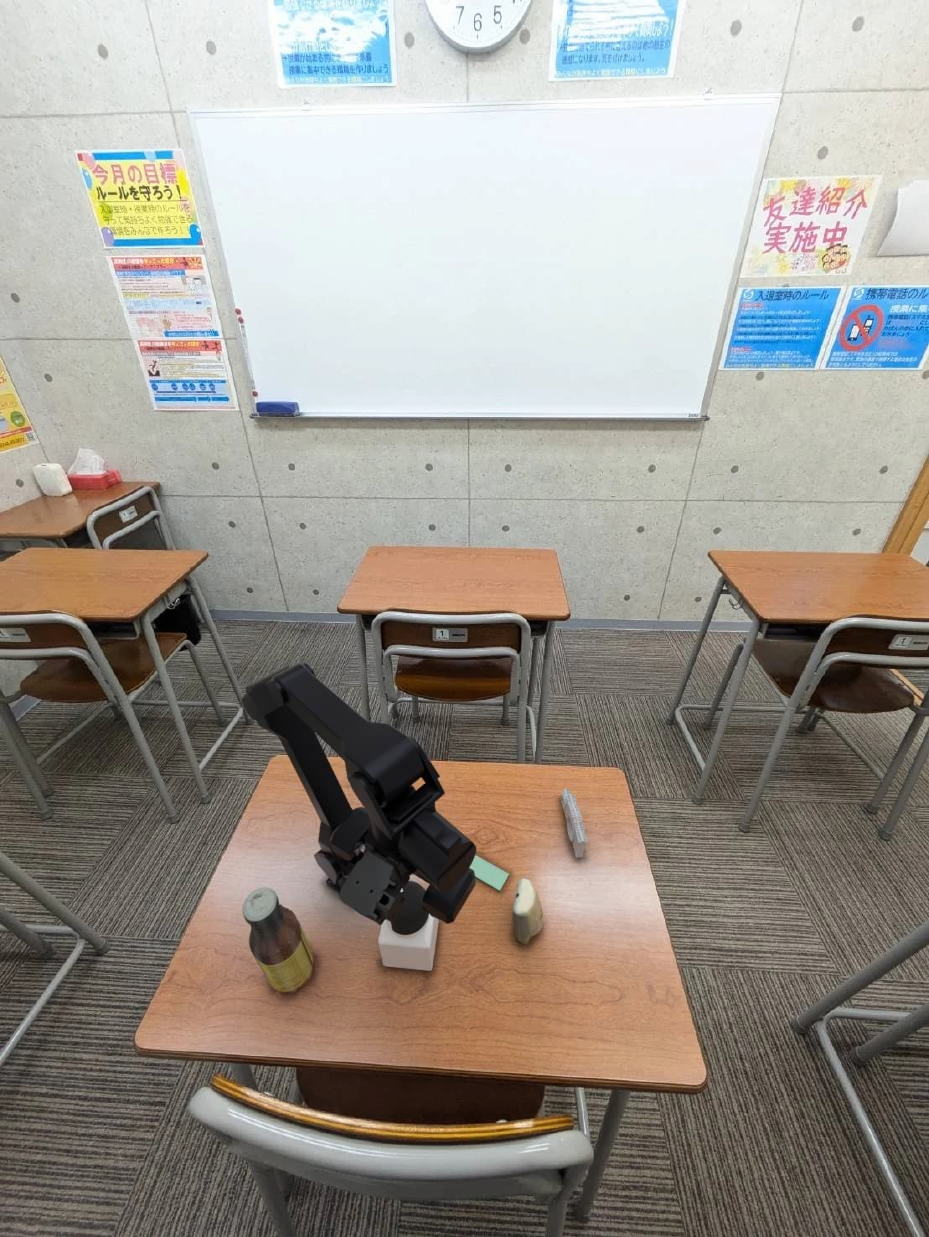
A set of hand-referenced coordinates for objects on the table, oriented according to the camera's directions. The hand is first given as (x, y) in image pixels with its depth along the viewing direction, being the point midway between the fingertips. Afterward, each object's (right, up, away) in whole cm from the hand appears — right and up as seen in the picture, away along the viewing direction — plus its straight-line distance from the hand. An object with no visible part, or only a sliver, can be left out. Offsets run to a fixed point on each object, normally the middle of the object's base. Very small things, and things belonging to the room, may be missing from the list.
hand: (405, 895), depth 69 cm
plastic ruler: (+8, -4, +18) cm, 20 cm away
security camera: (0, -11, +7) cm, 13 cm away
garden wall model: (+27, 0, +23) cm, 35 cm away
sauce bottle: (-16, -13, +4) cm, 21 cm away
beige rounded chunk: (+17, -9, +9) cm, 21 cm away
